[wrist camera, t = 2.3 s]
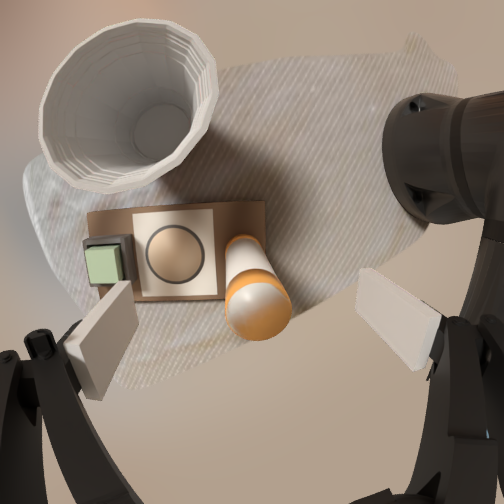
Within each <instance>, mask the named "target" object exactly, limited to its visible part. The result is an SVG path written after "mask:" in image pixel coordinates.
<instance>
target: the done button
mask: <svg viewBox="0 0 504 504" xmlns="http://www.w3.org/2000/svg"><path fill="white" fill-rule="evenodd" d="M85 256H86V262H87V268H88V273H89V279H90V283H117V282H118V281H122V279H123V278H124V277H125V271H124V265H123V258H122V250H121V244H110V245H94V246H92V247H91V248H89V249H87V250H85Z"/></svg>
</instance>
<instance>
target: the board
mask: <svg viewBox="0 0 504 504" xmlns="http://www.w3.org/2000/svg"><path fill="white" fill-rule="evenodd" d="M87 220H88V230H89V238H87V239H85V240H83V248H84V255H85V250H87V249H89V248H91V247H92V246H94V245H110V244H121V250H122V258H123V265H124V271H125V277H124V278H123V279H122V281H131V285H132V291H133V296H134V301H166V300H204V299H225V293H226V259H225V250H226V246H227V244H228V242H229V241H230V240H231V239H232V238H233V237H234V236H236V235H239V234H248V235H251V236H253V237H255V238H256V239H257V240H258V241H259V243H260V245H261V246H262V248H263V251H264V253H265V255H266V232H265V201H231V202H208V203H189V204H174V205H159V206H147V207H135V208H124V209H114V210H104V211H95V212H89V213H87ZM85 261H86V256H85ZM86 267H87V262H86ZM87 272H88V268H87ZM88 278H89V273H88ZM89 283H90V279H89ZM115 284H116V283H90V287H98V291H99V296H100V300H101V299H102V298H103V297H104V296H105V295H106V294H107V293H108V292H109V291H110V289H111V288H112V287H113V286H114V285H115Z"/></svg>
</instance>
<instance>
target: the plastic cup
mask: <svg viewBox="0 0 504 504" xmlns="http://www.w3.org/2000/svg"><path fill="white" fill-rule="evenodd" d="M218 96H219V88H218V79H217V70H216V61H215V59H214V58H213V56H212V55H211V53H210V52H209V50H208V49H207V48H206V46H205V45H204V43H203V42H202V40H201V39H200V37H199V36H198V35H197V34H195V33H193V32H191V31H189V30H187V29H186V28H184V27H182V26H180V25H178V24H176V23H174V22H172V21H168V20H157V19H142V18H137V19H133V20H129V21H125V22H121V23H118V24H115V25H111V26H108V27H105V28H103V29H102V30H100V31H98V32H97V33H95V34H93V35H92V36H90V37H89V38H87V39H86V40H84V41H83V42H81V43H80V44H79V45H77V46H76V47H74V49H73V50H72V51H71V52H70V53H69V54H68V55H67V57H66V58H65V59H64V60H63V62H62V63H61V64H60V65H59V67H58V68H57V69H56V70H55V72H54V73H53V74H52V76H51V78H50V81H49V83H48V85H47V88H46V91H45V93H44V96H43V98H42V101H41V104H40V107H39V142H40V144H41V147H42V149H43V152H44V154H45V157H46V159H47V161H48V164H49V166H50V168H51V169H52V170H53V171H54V172H56V173H57V174H58V175H59V176H60V177H62V178H63V179H64V180H65V181H66V182H68V183H69V184H70V185H71V186H72V187H74V188H77V189H82V190H87V191H92V192H96V193H101V194H106V195H108V194H113V193H117V192H121V191H126V190H131V189H135V188H140V187H145V186H146V185H148V184H149V183H151V182H152V181H154V180H156V179H157V178H159V177H160V176H162V175H163V174H165V173H166V172H168V171H170V170H171V169H173V168H175V167H176V166H178V165H179V164H181V163H182V161H183V160H184V159H185V157H186V156H187V155H188V154H189V152H190V151H191V150H192V149H193V147H194V146H195V145H196V144H197V142H198V141H199V140H200V139H201V137H202V136H203V135H204V134H205V133H206V131H207V130H208V126H209V123H210V120H211V117H212V114H213V111H214V108H215V105H216V102H217V99H218Z"/></svg>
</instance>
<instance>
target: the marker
mask: <svg viewBox="0 0 504 504" xmlns="http://www.w3.org/2000/svg"><path fill="white" fill-rule="evenodd" d="M225 259H226V293H225V316H226V321H227V323H228V325H229V327H230V329H231V330H232V331H233V332H234V333H235V334H237V335H238V336H240V337H242V338H244V339H247V340H252V341H261V340H266V339H269V338H272V337H274V336H276V335H277V334H279V333H280V332H281V331H282V330H283V329H284V328H285V327H286V326H287V324H288V323H289V320H290V318H291V314H292V305H291V301H290V298H289V296H288V295H287V293H286V291H285V289H284V287H283V285H282V283H281V282H280V280H279V279H278V278H277V276H276V274H275V272H274V270H273V268H272V266H271V265H270V263H269V261H268V259H267V257H266V255H265V253H264V251H263V248H262V246H261V245H260V243H259V241H258V240H257V239H256V238H255V237H253V236H251V235H248V234H239V235H236V236H234V237H233V238H232V239H231V240H230V241H229V242H228V244H227V246H226V250H225Z"/></svg>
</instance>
